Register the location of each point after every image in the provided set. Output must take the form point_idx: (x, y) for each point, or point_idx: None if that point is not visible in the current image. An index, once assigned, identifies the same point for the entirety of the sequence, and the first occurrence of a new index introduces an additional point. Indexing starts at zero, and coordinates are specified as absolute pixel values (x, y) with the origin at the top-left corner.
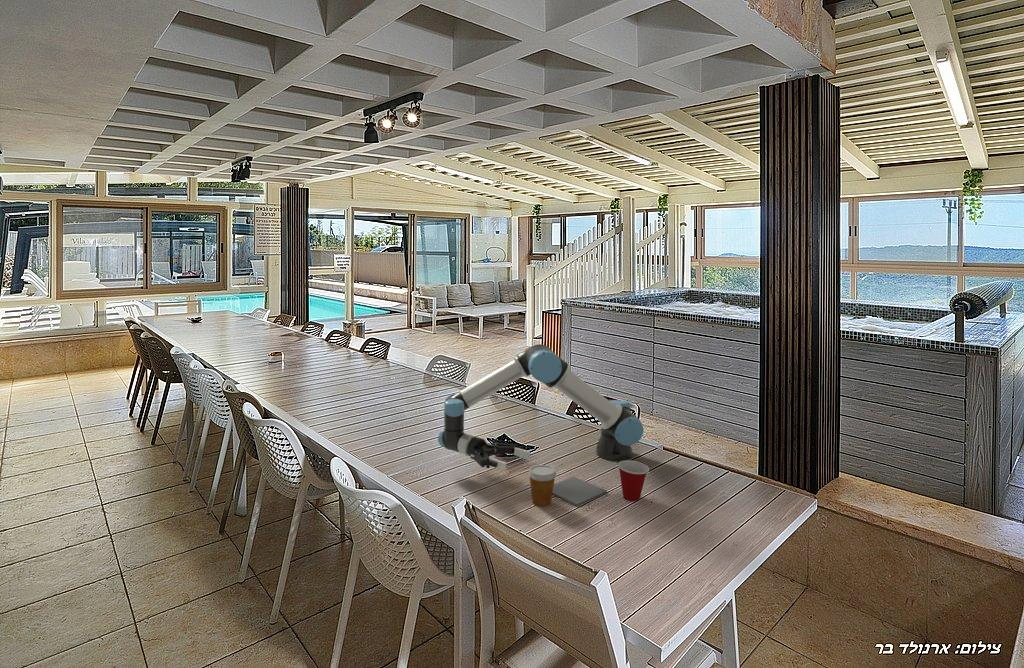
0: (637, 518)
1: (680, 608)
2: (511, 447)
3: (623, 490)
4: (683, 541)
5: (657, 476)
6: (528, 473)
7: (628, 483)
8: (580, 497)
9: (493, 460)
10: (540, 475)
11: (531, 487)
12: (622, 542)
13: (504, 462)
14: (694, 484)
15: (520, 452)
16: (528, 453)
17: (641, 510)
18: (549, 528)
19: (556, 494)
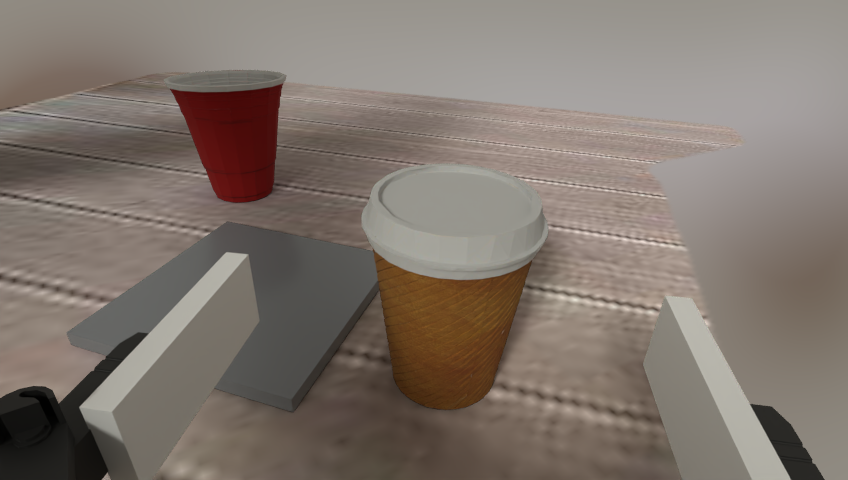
0: (379, 171)
1: (638, 122)
2: (66, 475)
3: (259, 171)
4: (434, 129)
5: (42, 174)
6: (516, 259)
7: (275, 128)
8: (328, 260)
9: (766, 454)
10: (530, 189)
11: (506, 320)
12: (521, 173)
13: (680, 308)
14: (110, 133)
15: (194, 356)
16: (247, 269)
17: (326, 171)
18: (617, 283)
19: (343, 328)
